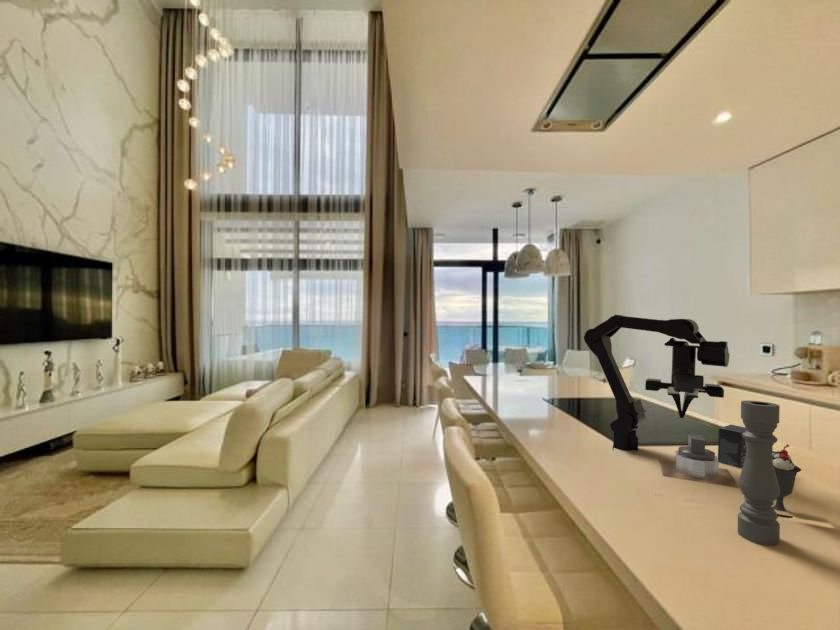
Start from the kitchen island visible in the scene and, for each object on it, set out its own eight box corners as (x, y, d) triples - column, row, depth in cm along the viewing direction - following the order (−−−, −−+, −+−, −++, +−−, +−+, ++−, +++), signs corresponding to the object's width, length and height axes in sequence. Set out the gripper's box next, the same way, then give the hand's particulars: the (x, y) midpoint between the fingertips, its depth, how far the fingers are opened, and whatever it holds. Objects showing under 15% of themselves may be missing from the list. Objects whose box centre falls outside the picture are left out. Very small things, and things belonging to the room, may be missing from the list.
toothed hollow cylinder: (677, 475, 110) (677, 457, 110) (674, 464, 118) (674, 448, 118) (720, 481, 106) (721, 463, 106) (714, 470, 114) (714, 453, 114)
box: (740, 471, 116) (741, 432, 116) (717, 464, 121) (717, 427, 121) (752, 466, 121) (753, 428, 121) (729, 460, 125) (729, 423, 125)
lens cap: (679, 469, 110) (680, 438, 110) (676, 459, 117) (677, 431, 117) (717, 474, 107) (717, 443, 107) (711, 464, 114) (712, 435, 114)
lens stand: (662, 479, 109) (662, 475, 109) (659, 462, 122) (659, 459, 122) (740, 491, 102) (740, 487, 102) (727, 472, 115) (727, 469, 115)
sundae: (791, 522, 87) (792, 448, 87) (753, 509, 93) (754, 439, 93) (807, 516, 90) (808, 444, 90) (769, 503, 96) (770, 436, 96)
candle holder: (729, 529, 83) (731, 400, 84) (759, 528, 84) (760, 400, 84) (756, 546, 77) (758, 406, 77) (788, 545, 78) (790, 406, 78)
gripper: (646, 362, 119) (644, 418, 120) (728, 368, 111) (725, 429, 111) (646, 359, 129) (644, 411, 129) (721, 364, 120) (719, 420, 120)
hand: (681, 417), depth 122 cm, fingers closed
